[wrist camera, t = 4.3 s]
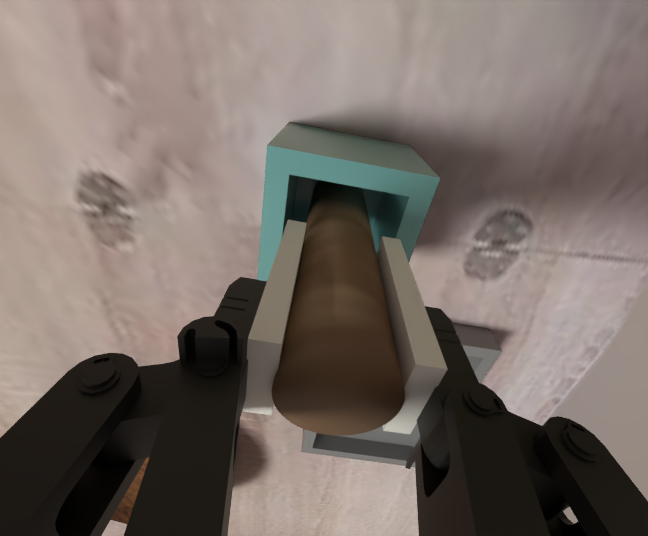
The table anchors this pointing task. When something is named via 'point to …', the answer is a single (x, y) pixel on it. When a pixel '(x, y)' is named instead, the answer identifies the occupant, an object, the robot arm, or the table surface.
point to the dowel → (338, 325)
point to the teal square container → (348, 169)
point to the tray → (399, 445)
